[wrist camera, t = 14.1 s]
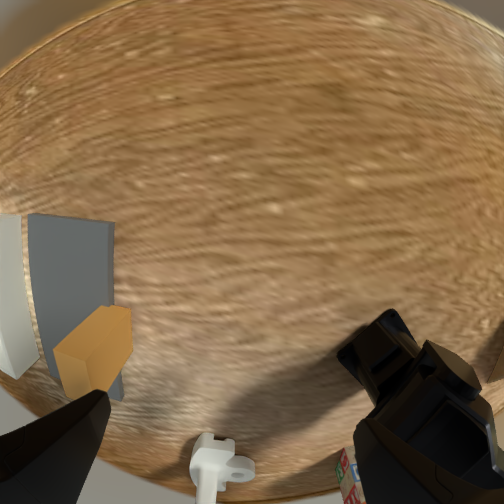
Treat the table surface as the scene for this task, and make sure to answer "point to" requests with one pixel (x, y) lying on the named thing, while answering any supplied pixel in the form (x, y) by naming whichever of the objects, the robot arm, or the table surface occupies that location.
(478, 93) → the table surface
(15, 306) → the tub
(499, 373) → the sandwich container
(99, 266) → the lid
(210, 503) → the joystick
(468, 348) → the table surface
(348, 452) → the stack of blocks
